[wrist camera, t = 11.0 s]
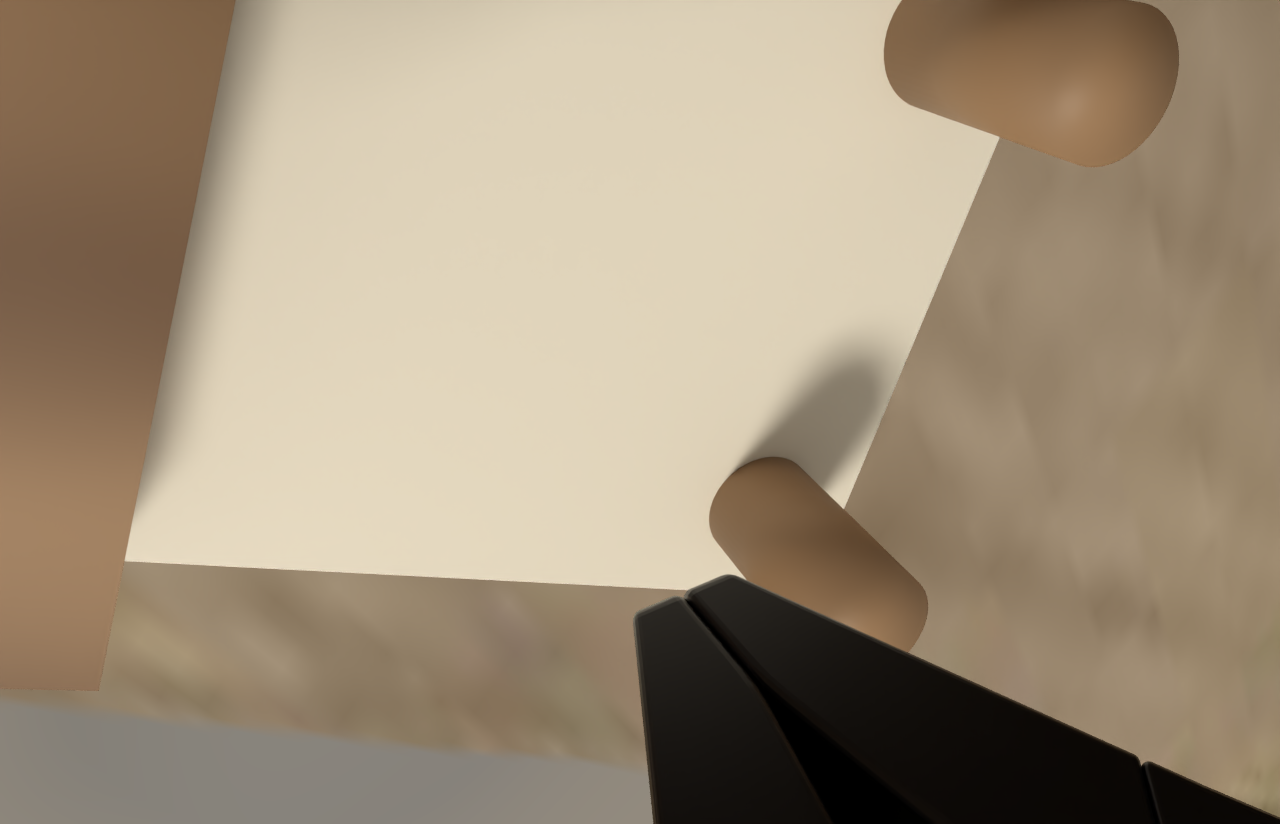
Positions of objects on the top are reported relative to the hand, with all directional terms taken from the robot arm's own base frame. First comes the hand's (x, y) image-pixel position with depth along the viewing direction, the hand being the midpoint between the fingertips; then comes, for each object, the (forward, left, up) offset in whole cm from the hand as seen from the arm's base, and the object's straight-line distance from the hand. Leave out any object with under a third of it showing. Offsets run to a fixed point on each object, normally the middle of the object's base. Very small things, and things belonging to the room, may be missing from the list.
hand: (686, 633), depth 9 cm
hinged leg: (+5, 0, -9) cm, 11 cm away
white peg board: (-1, -1, -12) cm, 12 cm away
